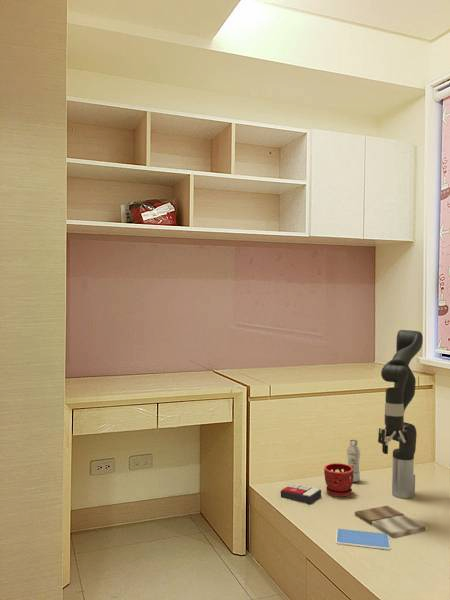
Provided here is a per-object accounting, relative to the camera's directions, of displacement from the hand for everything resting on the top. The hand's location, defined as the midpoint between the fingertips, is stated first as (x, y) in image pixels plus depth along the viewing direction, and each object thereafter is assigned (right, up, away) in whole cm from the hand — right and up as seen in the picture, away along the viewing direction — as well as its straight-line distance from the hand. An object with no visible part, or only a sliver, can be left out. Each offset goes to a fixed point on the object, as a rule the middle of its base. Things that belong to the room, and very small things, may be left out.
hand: (393, 452), depth 221 cm
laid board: (-6, -26, -1) cm, 27 cm away
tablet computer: (-18, -27, -22) cm, 39 cm away
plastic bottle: (-7, -26, +40) cm, 48 cm away
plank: (-2, -26, -12) cm, 29 cm away
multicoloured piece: (-36, -26, +19) cm, 48 cm away
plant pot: (-18, -26, +24) cm, 40 cm away
